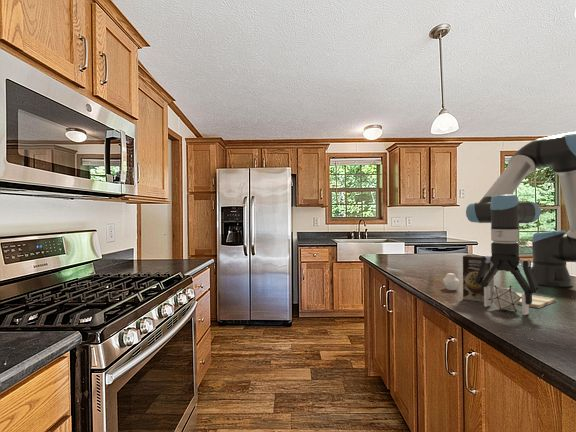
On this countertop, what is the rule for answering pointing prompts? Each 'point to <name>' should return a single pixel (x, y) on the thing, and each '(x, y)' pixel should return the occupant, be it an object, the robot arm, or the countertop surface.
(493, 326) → the countertop surface
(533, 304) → the birch board
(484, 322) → the countertop surface
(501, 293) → the wireframe polyhedron
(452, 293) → the countertop surface
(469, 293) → the cookie box
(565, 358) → the countertop surface
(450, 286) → the white knobbed ball
